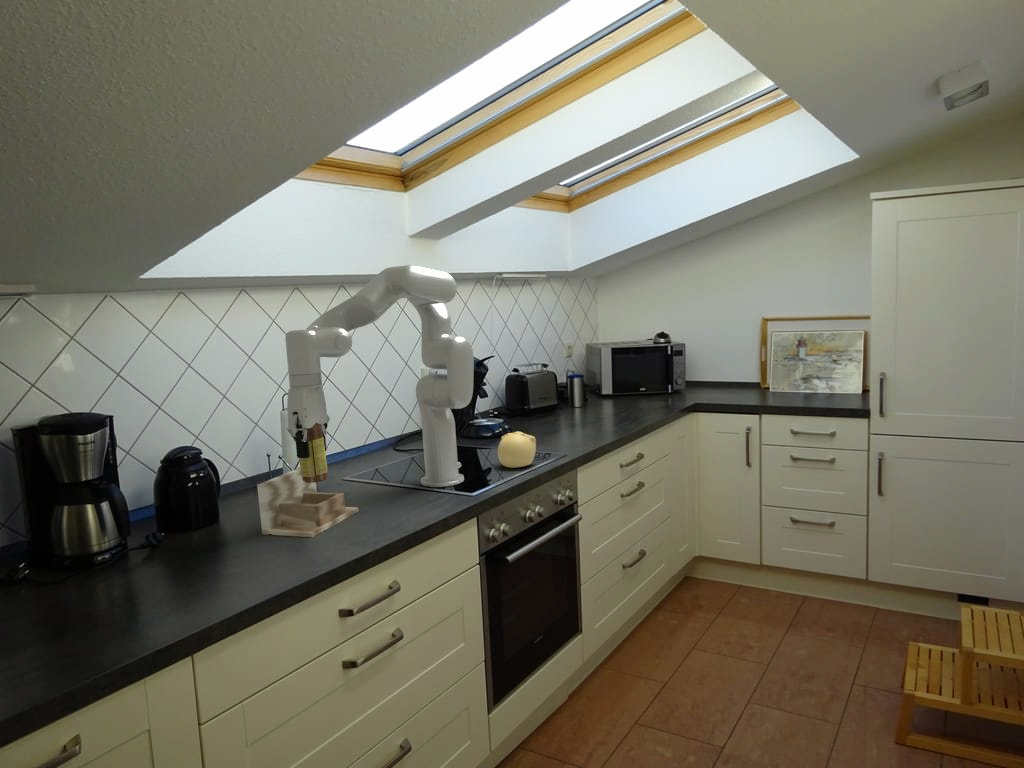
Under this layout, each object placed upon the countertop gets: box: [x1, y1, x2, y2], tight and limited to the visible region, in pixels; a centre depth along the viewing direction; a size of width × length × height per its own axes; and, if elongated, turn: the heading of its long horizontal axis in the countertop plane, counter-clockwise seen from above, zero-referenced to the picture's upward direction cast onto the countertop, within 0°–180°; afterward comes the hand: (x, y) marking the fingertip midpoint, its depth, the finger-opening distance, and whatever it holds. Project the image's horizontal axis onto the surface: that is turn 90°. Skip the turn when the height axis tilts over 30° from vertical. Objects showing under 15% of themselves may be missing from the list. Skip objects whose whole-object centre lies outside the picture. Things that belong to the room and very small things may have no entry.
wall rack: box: [256, 467, 359, 538], centre depth 175 cm, size 20×14×12 cm
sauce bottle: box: [298, 423, 329, 483], centre depth 172 cm, size 6×6×20 cm
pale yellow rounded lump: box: [497, 430, 537, 469], centre depth 221 cm, size 12×12×11 cm
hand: (312, 453), depth 173 cm, fingers closed on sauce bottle, 6 cm apart
